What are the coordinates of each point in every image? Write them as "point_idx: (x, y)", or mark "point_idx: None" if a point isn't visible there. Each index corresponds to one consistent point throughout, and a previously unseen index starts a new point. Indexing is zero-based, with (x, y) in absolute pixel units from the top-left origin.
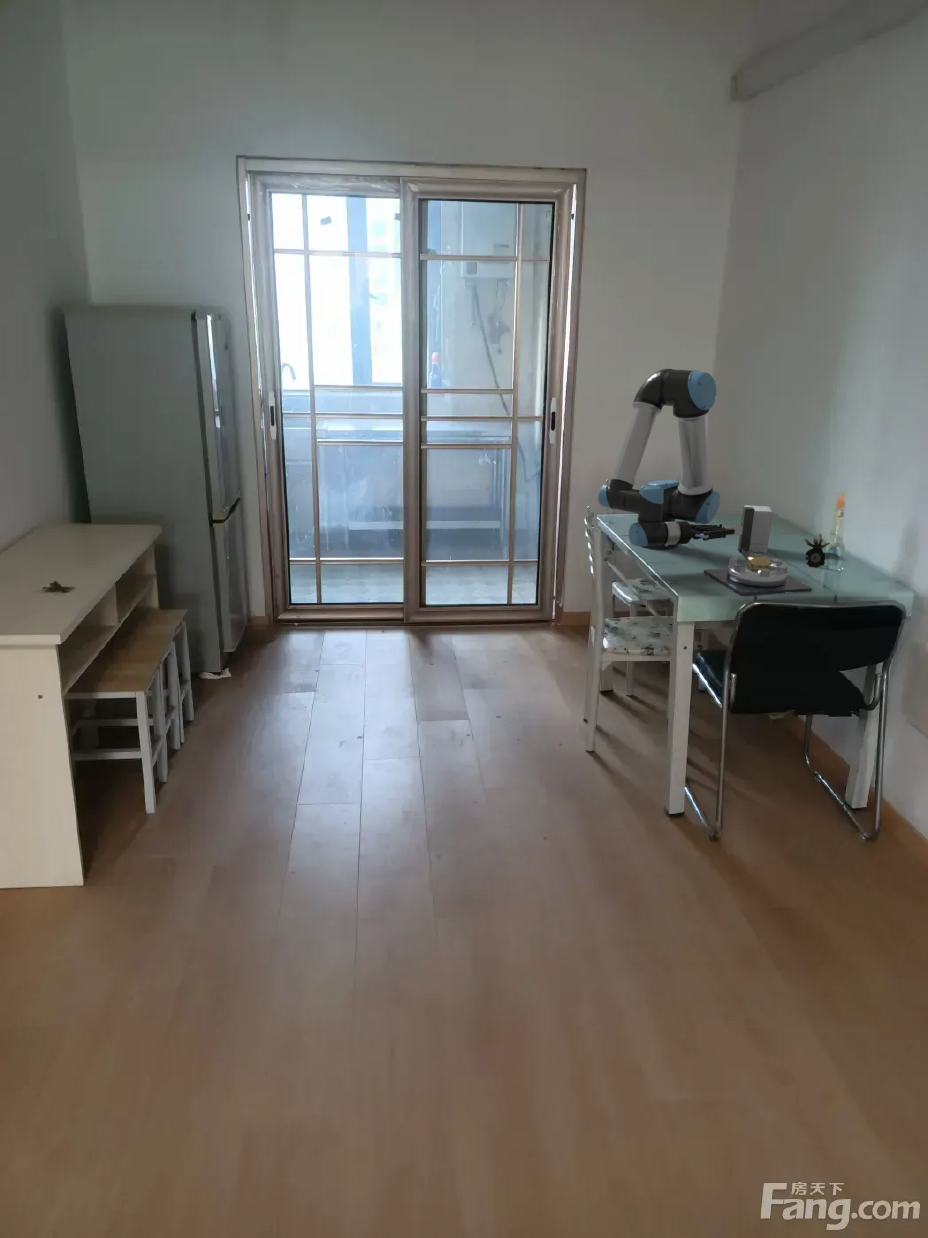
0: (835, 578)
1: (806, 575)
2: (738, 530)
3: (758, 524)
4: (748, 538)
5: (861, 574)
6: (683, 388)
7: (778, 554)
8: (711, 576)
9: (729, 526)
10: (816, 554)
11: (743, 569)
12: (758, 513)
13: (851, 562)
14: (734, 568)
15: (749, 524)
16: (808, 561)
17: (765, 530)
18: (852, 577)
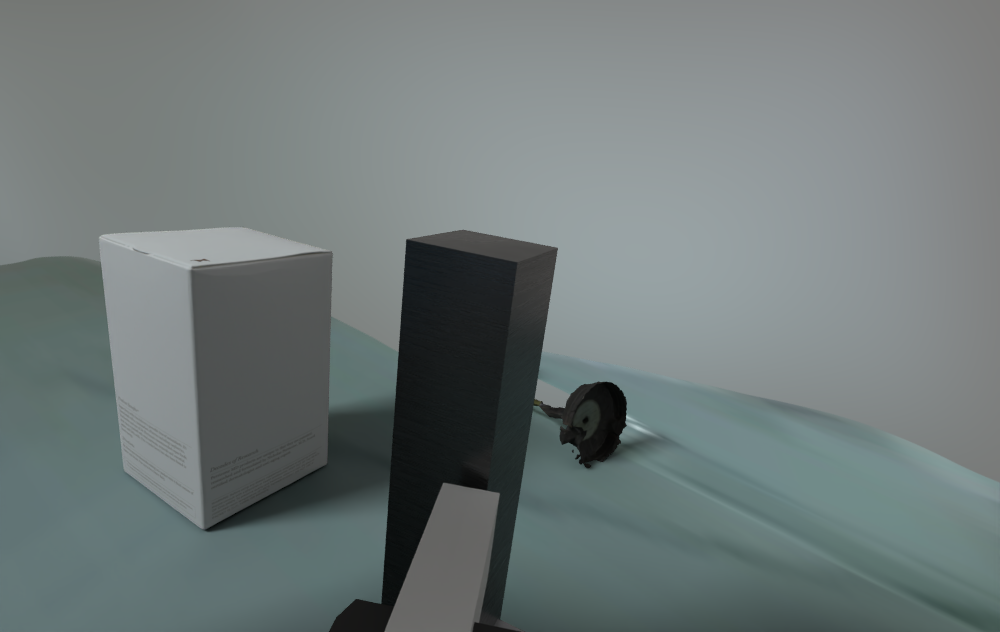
0: (770, 495)
1: (738, 557)
2: (485, 573)
3: (276, 341)
4: (503, 555)
5: (699, 418)
6: None
7: (378, 447)
8: None
9: (404, 623)
10: (588, 405)
11: None
12: (266, 275)
13: (562, 373)
14: None
15: (519, 427)
16: (577, 447)
17: (313, 362)
18: (743, 451)
